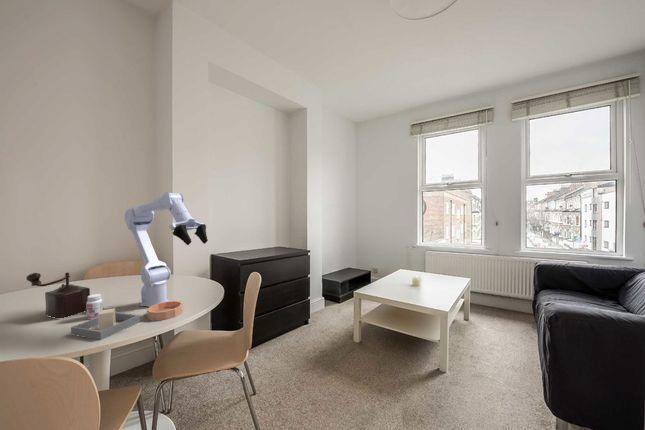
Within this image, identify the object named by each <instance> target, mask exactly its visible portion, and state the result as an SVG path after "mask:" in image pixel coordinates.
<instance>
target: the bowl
mask: <svg viewBox="0 0 645 430" xmlns="http://www.w3.org/2000/svg"><path fill="white" fill-rule="evenodd" d="M183 312H184V303H183V302H182V301H179V300H172V301H166V302H162V303H158V304H155V305H153V306H150V307H148V308H147V309H146V318H147V319H148V320H149V321H163V320H165V321H166V320H169V319H172V318H176V317H178V316H179V315H182V313H183Z"/></svg>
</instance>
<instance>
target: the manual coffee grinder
mask: <svg viewBox="0 0 645 430" xmlns="http://www.w3.org/2000/svg"><path fill="white" fill-rule="evenodd" d="M64 275H65V276H64V277H62V278H60V279H58V280H54V281H51V282H46V283H42V281H41V280H40V279H41V276H42V275H41V273H39V272H33V273H29V274H28V275H27V276H26V277H25V279H26V281H28V282H29V283H31V287H34V286H36V287H47V286H50V285H54V284H58V283H61V282H63V281H65V284H64V283H62V284H61V286H60V287H58V288H56V289H55V288H54V290H50V291H46V292H45V294H44V298H45V316H47V315H48V316H51V317H55V318H63V319H65V318H64V317H66V318H69V317H72V316H71V315H73V316H75V314H76V315H79V314H82V313H85V312H87V305H86V303H87V302H88V300H87V299H88V296H90V295H91V290H90V287H86V286H82V285H76V284H70V273H69V272H65V273H64ZM84 311H85V312H84ZM81 312H82V313H81ZM78 313H79V314H78ZM48 316H47V317H48ZM68 316H69V317H68ZM51 317H50V318H51Z"/></svg>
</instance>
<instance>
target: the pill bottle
mask: <svg viewBox="0 0 645 430" xmlns="http://www.w3.org/2000/svg"><path fill="white" fill-rule="evenodd" d="M87 300H88V302H87V303H86V305H87V311H86V318H87V320H92V319H95V318H97V317H98V314H99V313H100V311H102V310H104V305H103V304H104V303H103V302H104V301H103V299H102V294H101V293H96V294H90V296H88V299H87Z"/></svg>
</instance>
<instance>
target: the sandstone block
mask: <svg viewBox="0 0 645 430" xmlns="http://www.w3.org/2000/svg"><path fill="white" fill-rule="evenodd" d="M115 312H116V307H114V308H107V309H103V310H102V311H100V313H99V314H98V324H99V325H98V330H100V331H102V330H104V329H107V328H109V327H111V326H114V325H116V324H117V322H116V320H115Z"/></svg>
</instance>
